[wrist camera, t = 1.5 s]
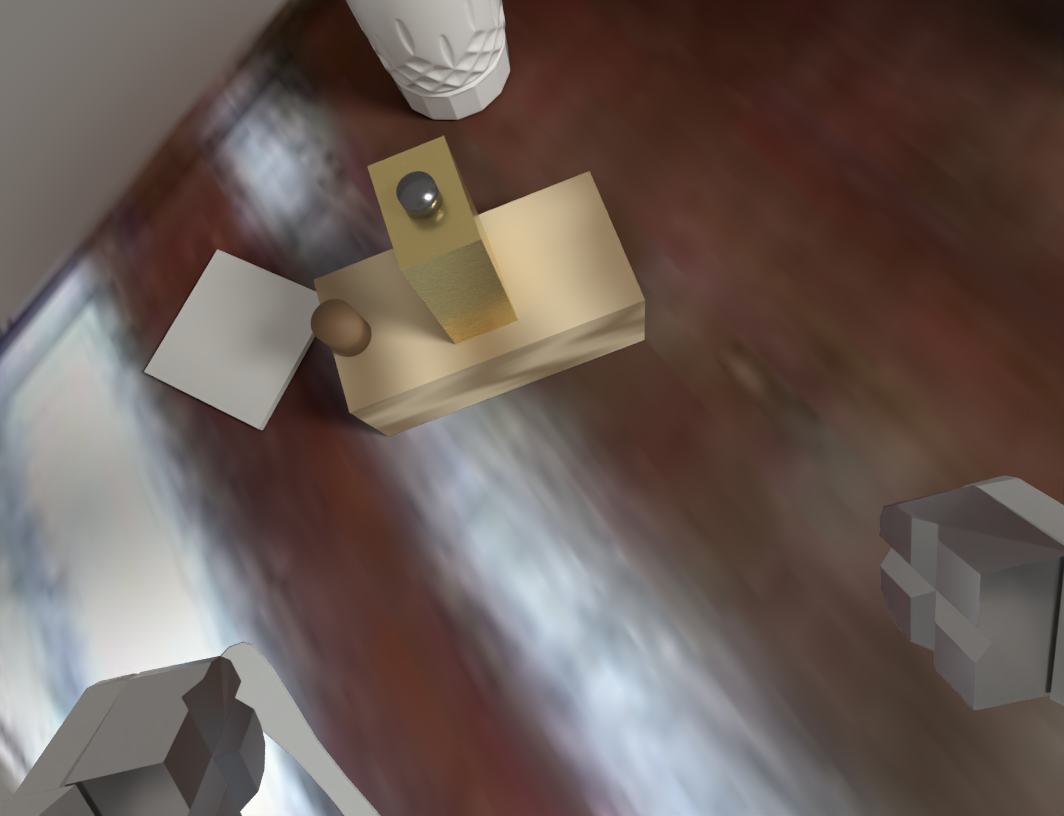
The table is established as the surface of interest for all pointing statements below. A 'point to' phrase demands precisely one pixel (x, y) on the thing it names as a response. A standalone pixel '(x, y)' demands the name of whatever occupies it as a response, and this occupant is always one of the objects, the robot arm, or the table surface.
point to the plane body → (504, 353)
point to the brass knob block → (441, 240)
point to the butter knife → (291, 727)
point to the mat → (237, 339)
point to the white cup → (439, 51)
